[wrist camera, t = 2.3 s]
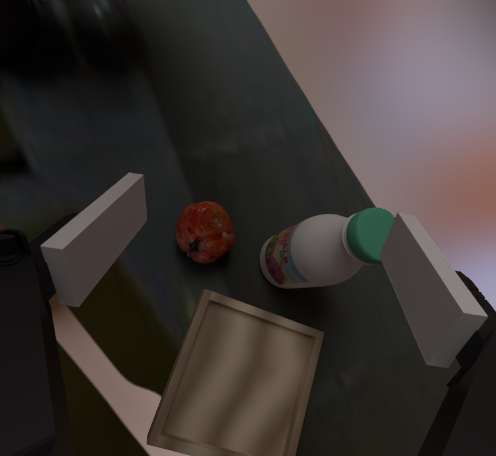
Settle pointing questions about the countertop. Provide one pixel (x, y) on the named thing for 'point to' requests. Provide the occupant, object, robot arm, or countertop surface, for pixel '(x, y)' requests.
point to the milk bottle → (325, 249)
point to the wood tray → (237, 383)
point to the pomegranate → (204, 231)
